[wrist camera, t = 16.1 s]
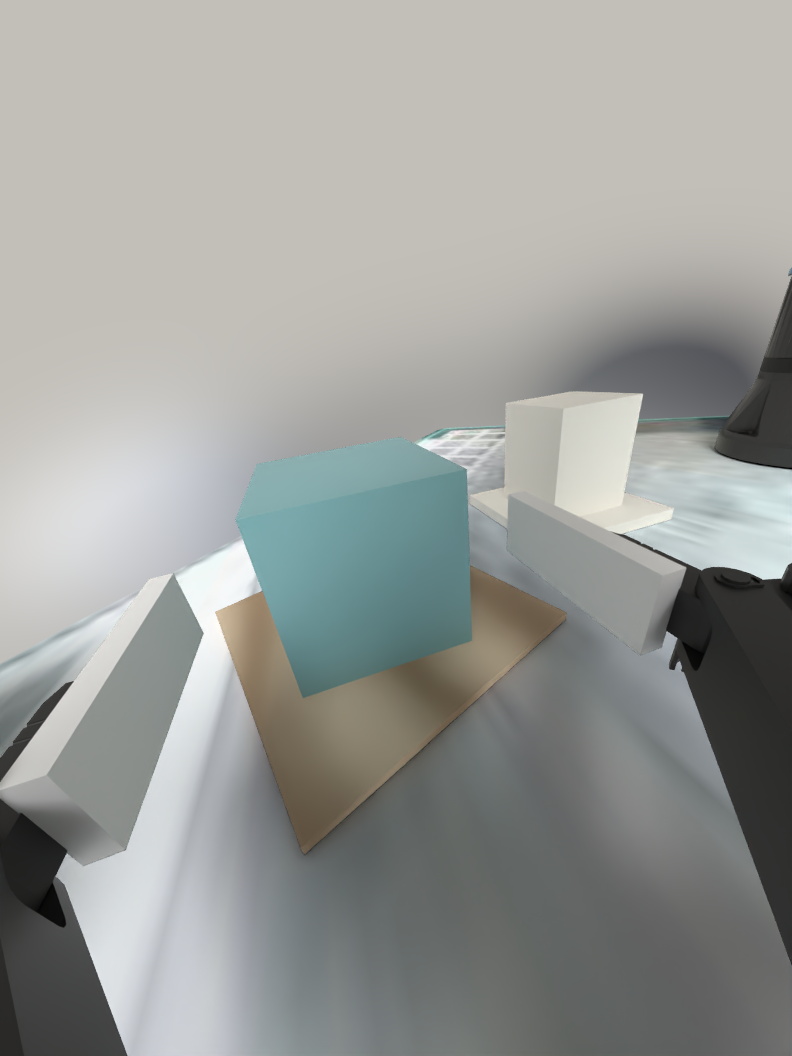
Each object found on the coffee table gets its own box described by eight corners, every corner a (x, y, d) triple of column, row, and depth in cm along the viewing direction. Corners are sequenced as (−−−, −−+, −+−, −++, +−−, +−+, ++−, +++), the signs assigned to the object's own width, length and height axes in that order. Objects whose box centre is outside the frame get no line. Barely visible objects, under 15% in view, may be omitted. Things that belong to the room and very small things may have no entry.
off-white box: (564, 480, 38) (574, 387, 33) (671, 519, 27) (705, 389, 23) (469, 503, 35) (467, 405, 31) (546, 555, 25) (558, 418, 20)
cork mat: (398, 534, 31) (398, 530, 31) (565, 619, 19) (566, 612, 19) (217, 617, 23) (215, 612, 23) (304, 854, 11) (300, 847, 11)
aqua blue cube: (415, 560, 25) (400, 436, 21) (472, 640, 18) (466, 469, 13) (297, 592, 24) (257, 463, 19) (303, 698, 16) (235, 519, 12)
